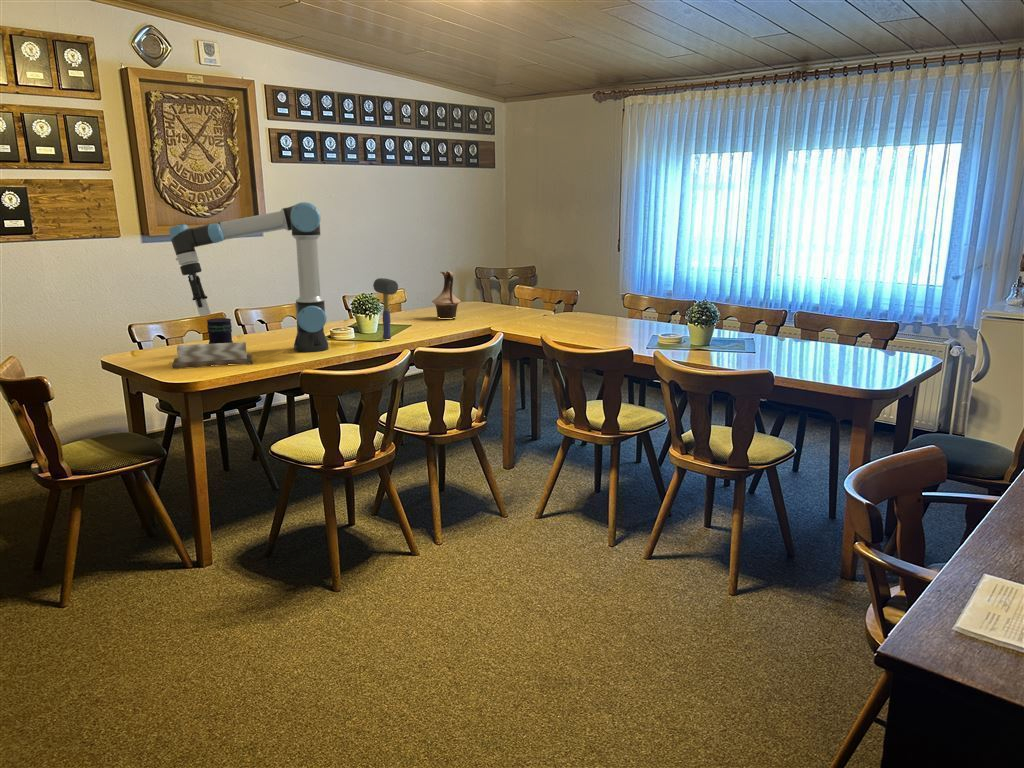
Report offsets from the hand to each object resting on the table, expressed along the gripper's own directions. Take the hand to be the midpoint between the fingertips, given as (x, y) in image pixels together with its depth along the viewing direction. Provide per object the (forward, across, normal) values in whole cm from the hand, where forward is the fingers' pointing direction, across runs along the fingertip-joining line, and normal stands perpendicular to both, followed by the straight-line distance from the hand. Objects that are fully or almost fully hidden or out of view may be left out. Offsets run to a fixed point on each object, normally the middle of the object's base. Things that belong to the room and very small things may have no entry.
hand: (205, 315), depth 298 cm
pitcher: (+34, -96, +116) cm, 154 cm away
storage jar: (+18, -18, 0) cm, 25 cm away
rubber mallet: (+32, -35, +72) cm, 87 cm away
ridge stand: (+20, +1, -2) cm, 20 cm away
